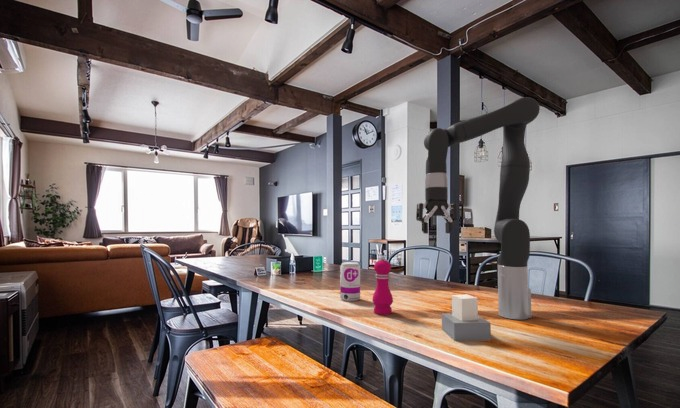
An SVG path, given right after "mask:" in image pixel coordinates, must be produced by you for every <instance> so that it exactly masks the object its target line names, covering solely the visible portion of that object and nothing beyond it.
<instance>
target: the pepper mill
mask: <svg viewBox="0 0 680 408" xmlns="http://www.w3.org/2000/svg"><path fill="white" fill-rule="evenodd" d="M373 269H374V271H375V278H376V288H375V291H374V292H373V295H372V303H373V304H374V307H373V313H375V314H376V315H383V316H384V315H391V314H392V311H393V310H392V309H393V308H392V307H391V306H392V304H393V303H394V298H393V295H392V292H391V289H390V285H389V279H390V278H391V277H390V272H391V271H392V265H391V263H390V261H388V260H386V257H385V255H381V256H379V260H377V261H376V262H375V263H374V266H373Z"/></svg>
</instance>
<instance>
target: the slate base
mask: <svg viewBox="0 0 680 408" xmlns="http://www.w3.org/2000/svg"><path fill="white" fill-rule="evenodd" d="M441 330H442V331H443V332H444V333H445V334H446V335H447V336H448V337H450V338H451V340H453V341H454V342H464V341H465V342H468V341H469V342H471V341H472V342H473V341H474V342H475V341H476V342H477V341H478V342H479V341H481V342H482V341H485V342H486V341H487V342H488V341H491V340H492V335H491V334H492V333H491V330H492V329H491V322H490V321H488V320H487V319H485V318H483V317H482V316H480V315H478V320H466V321H461V320H459V319H457V318H455V317H453V316H452V312H451V313H450V312H449V313H445V312H444V313H441Z"/></svg>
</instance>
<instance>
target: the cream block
mask: <svg viewBox="0 0 680 408" xmlns="http://www.w3.org/2000/svg"><path fill="white" fill-rule="evenodd" d="M478 305H479V301H478V297H475V296H473V295H470V294H467V293H465V294H464V293H463V294H452V295H451V313H452V316H453V317H455V318H457V319H459V320H461V321H466V320H478V316H479V314H478V313H479V312H478V311H479V307H478Z"/></svg>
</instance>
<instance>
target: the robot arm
mask: <svg viewBox="0 0 680 408" xmlns="http://www.w3.org/2000/svg"><path fill="white" fill-rule="evenodd" d="M540 108H541V107H540V105H539V102H538V101H537V100H536V99H535V98H532V97H527V96H525V97H524V96H523V97H520V98H517V99H516V100H514V101H512V102H511V103H509V104H507V105H505V106H503V107H501V108H498V109H495V110H493V111H491V112H488V113H484V114H482V115H477V116H476V117H474V116H473V117H471V118H469V119H465V120H462V121H459V122H455V123H453V124H452V125H451V126H449V127H447V128H441V127H436V128H433V129H431V131H429V132H428V133H427V135H426V136H425V137H424V140H423V145H424V148H425V149H426V150H427V158H426V161H425V177H424V178H425V179H424V180H425V181H424V183H425V184H424V188H425V189H424V190H425V191H424V192H425V193H424V197H425V202H424V203H422V202H420V203H418V202H417V204H416V215H415V218H416V221H418V222H420V223H421V232H422V233H423V234H426V235H427V234H429V223H428V221H429V219H430V218H432V217H435V216H437V217H441V218H442V219H443V220H444V221H445V234H451V232H452V230H453V227H452V226H453V224H452V223H453V222H455V221H457V220H458V214H457V204H456V203H448V199H449V198H448V195H449V194H448V193H449V192H448V188H449V187H448V185H449V184H448V183H449V182H448V176H447V175H448V174H447V173H448V172H447V166H448V165H447V156H448V150H449V147H452V146H455V145H458V144H461V143H465V142H467V141H470V140H474V139H476V138H478V137H481V136H484V135H486V134H489V133H491V132H492V131H495V130H498V129H501V128H502V133H503V134H502V135H503V136H502V137H503V142H502V149H501V163H500V172H499V186H498V187H499V190H498V205H497V212H496V217H495V221H494V229H493V232H494V233H493V234H494V237H495V239H496V241H498V242H499V243H500V245H501V246H500V247H501V249H500V253H499V255H498V257H497V290H498V291H497V294H498V296H497V297H498V298H497V299H498V300H497V301H498V308H497V309H498V316H499V317H501V318H505V319H511V320H519V321H520V320H523V321H524V320H529V319H530V318H531V319H532V291H531V290H532V289H531V288H529V276H528V274H529V273H528V271H529V270H528V261H529V259H530V254H531V247H530V246H531V235H530V229H529V226H528V225H527V223H526V222H525V221H523V220H522V219H520V209H521V204H522V200H523V199H524V195H525V194H526V191H527V188H528V185H529V182H530V171H531V160H530V157H529V155H528V151H527V148H526V145H525V134H526V128H527V125H529V124H530V123H532V122H533V121H535V119H536V118H537V117H538V115H539V113H540V111H541V110H540ZM424 209H425V210H426V211H425V212H424ZM448 210H449V212H448Z"/></svg>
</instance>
